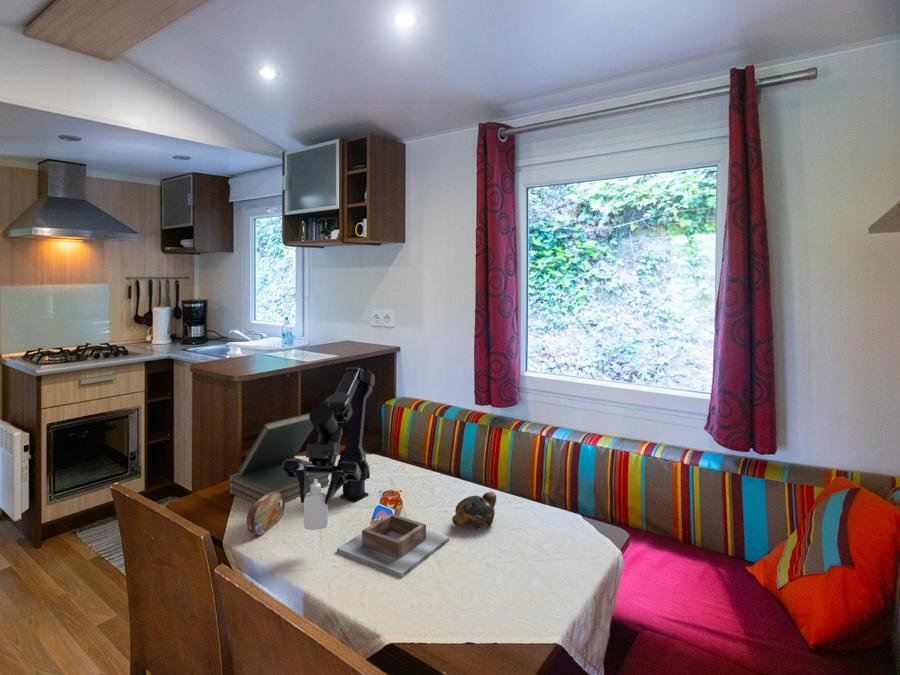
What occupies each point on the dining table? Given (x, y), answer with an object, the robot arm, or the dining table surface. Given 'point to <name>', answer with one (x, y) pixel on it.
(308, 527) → the eye dropper bottle
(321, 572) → the dining table surface
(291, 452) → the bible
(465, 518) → the decorative turtle
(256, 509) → the tin
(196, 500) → the dining table surface
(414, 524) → the box
